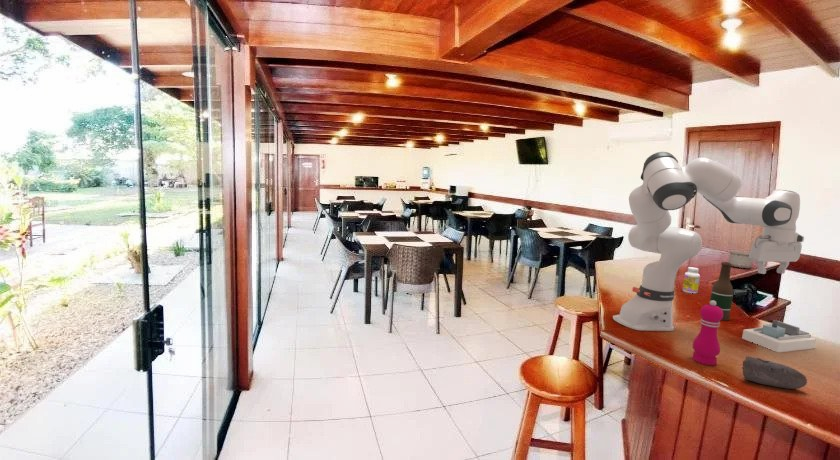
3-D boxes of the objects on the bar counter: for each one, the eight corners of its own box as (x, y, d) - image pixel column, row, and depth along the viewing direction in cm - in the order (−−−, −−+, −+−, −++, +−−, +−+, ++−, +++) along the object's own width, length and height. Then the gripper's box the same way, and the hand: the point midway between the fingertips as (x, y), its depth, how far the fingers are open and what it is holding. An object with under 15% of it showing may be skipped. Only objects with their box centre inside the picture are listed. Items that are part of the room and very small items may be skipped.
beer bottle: (733, 321, 170) (742, 265, 166) (712, 319, 171) (721, 263, 168) (723, 315, 177) (732, 261, 174) (703, 313, 179) (711, 259, 175)
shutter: (795, 336, 145) (797, 328, 145) (774, 329, 152) (776, 321, 151) (809, 335, 147) (810, 326, 147) (787, 328, 154) (789, 320, 153)
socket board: (777, 352, 140) (780, 340, 139) (742, 338, 151) (743, 326, 151) (814, 348, 145) (816, 336, 144) (776, 335, 156) (778, 324, 156)
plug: (773, 345, 145) (778, 323, 143) (760, 340, 149) (764, 318, 148) (782, 344, 146) (786, 322, 145) (769, 339, 150) (773, 317, 149)
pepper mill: (706, 356, 135) (716, 297, 132) (723, 366, 127) (733, 304, 125) (685, 355, 134) (694, 296, 131) (701, 365, 127) (710, 303, 124)
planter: (749, 270, 276) (752, 255, 274) (726, 267, 284) (729, 252, 283) (751, 267, 285) (754, 253, 283) (729, 264, 293) (731, 250, 292)
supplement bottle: (679, 290, 216) (682, 266, 214) (688, 289, 218) (692, 266, 216) (690, 294, 209) (694, 269, 207) (700, 293, 211) (704, 269, 209)
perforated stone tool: (801, 388, 116) (805, 365, 115) (808, 396, 111) (813, 372, 110) (736, 374, 123) (739, 352, 122) (740, 382, 118) (744, 359, 117)
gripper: (766, 236, 141) (759, 275, 143) (807, 237, 146) (800, 275, 148) (747, 233, 147) (740, 271, 149) (788, 234, 152) (781, 271, 154)
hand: (771, 273), depth 148 cm, fingers open, 8 cm apart
